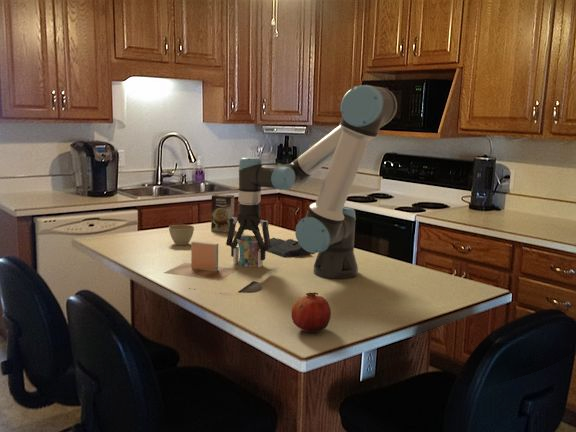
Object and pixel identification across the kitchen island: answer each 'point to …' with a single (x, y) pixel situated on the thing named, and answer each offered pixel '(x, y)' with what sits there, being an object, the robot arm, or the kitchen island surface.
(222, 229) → the coffee box
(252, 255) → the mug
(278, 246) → the dark slate chunk
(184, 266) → the board
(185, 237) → the flower pot
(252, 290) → the coaster
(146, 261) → the kitchen island surface
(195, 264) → the tile
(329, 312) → the fruit
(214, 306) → the kitchen island surface
